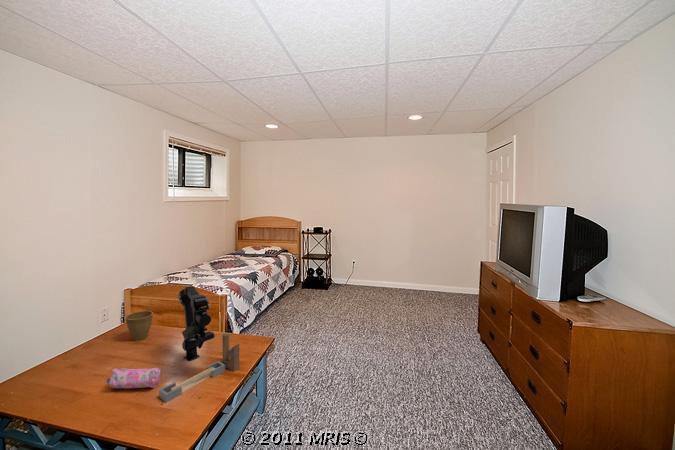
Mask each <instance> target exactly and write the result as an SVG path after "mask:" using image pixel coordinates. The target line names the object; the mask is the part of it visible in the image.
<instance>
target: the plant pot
mask: <svg viewBox="0 0 675 450" xmlns="http://www.w3.org/2000/svg"><path fill="white" fill-rule="evenodd" d="M153 315H154V312H153V311H151V310H141V311H137V312H132V313H129V314H128V315H126V316H125V322H126V325H127V328H128V331H129V333H130V336H131V337H132V340H134V341H136V342H137V341H142V340H146V339H147V338H148V336H149V332H150V329H151V326H152V321H153Z"/></svg>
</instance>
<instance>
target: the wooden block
mask: <svg viewBox="0 0 675 450" xmlns="http://www.w3.org/2000/svg"><path fill="white" fill-rule="evenodd" d="M230 344H231V343H230V333H229V332H224V333H222V359H221V361H220V362H221V363H222V364H224V365H225V369H227V370H230V371H233V372H235V371H238V370H239V369H240V343H237V344H236V345H234V346H232V348H231V349H230Z"/></svg>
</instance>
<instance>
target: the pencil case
mask: <svg viewBox="0 0 675 450" xmlns="http://www.w3.org/2000/svg"><path fill="white" fill-rule="evenodd" d="M111 372H112V375H110V378H107V379H106V382H105V384H108V387H109V388H111V389H138V388H141V389H142V388H155V387H156V386H157V385H158V384H159V382H160V379H161V376H162V369H161V368H160V367H152V368H121V367H120V368H119V367H118V368H113V370H111Z"/></svg>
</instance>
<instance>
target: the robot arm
mask: <svg viewBox="0 0 675 450" xmlns="http://www.w3.org/2000/svg"><path fill="white" fill-rule="evenodd" d="M177 296H178V298H177V299H178V300H179V303H180V304H181V306H182V307H183V311H184V312H183V313H184V321H185V329H184V330H183V331H182V332H181V334H182V335H183V339H184V340H183V341H182V346H181V348H182V349H183V350H184V351H185V356H183V357H182V358H183V359H184V360H186V361H188V362H191V361H193V360H195V359H198V358H199V357H200V355H199V354H198V349H202V347H203V345H204V343H205V342H207V341H210V340H213V339H214V338H215V333H214V332H212V331H210V330H209V331H208V328H207V327H206V326H208V325H209V324H210V323H211V321H212V317H211V315H209V314H208V312H207V311H210V307H211V305H210V302H209V299H208V297H207V296H205V295H204V294H200V293H199V291H198V290H196V286H195V285H190V286H185V287H184V288H183V289H182V290H180V291H179V293H178V295H177Z"/></svg>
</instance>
